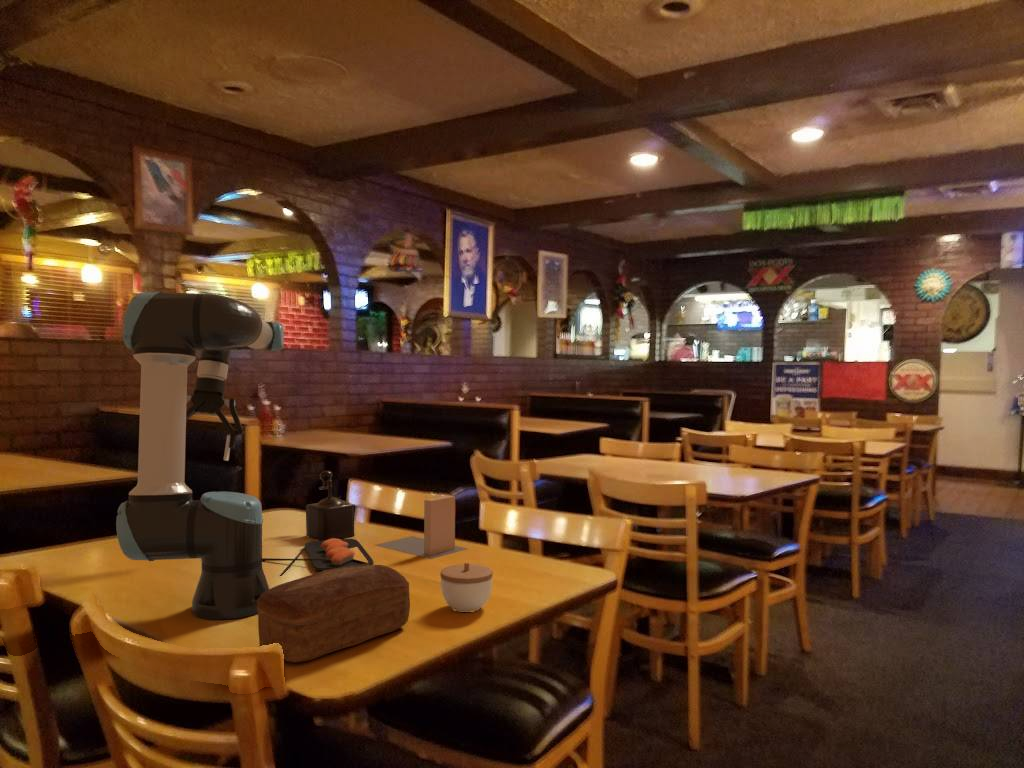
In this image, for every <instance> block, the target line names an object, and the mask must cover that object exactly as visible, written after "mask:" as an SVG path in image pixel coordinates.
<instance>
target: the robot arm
mask: <svg viewBox="0 0 1024 768" xmlns="http://www.w3.org/2000/svg"><path fill="white" fill-rule="evenodd" d="M122 334H123V336H122V337H123V343H124V345H125V347H126V348H127V349H129V350H131V351H133V352H132V353H133V354H132V355H133V359H134V360H135V361H137V362H138V363H139V365H140V394H139V397H140V398H139V425H138V426H139V431H138V432H139V434H138V459H137V460H138V464H137V466H138V467H137V482H136V483H137V484H136V486H134V487H133V488H132V489H131V490H130V491H129V492H128V500H126V501H124V502H121V503H120V505H119V507H118V509H117V515H116V518H115V519H116V521H115V525H116V526H115V527H116V535H117V542H118V545H119V547H120V549H121V551H122V553H123V555H124V556H125V558H127V559H130V560H132V561H149V562H153V561H161V560H162V561H163V560H164V561H165V560H192V559H200V561H201V570H200V571H201V573H200V576H199V580H198V582H197V585H196V588H195V590H194V591H195V592H194V594H193V597H192V601H191V613H192V614H193V615H194V616H196V617H198V618H201V619H207V620H231V619H240V618H245V617H250V616H254V615H258V611H257V603H258V598H259V597H260V595H262V594H263V593H264V592H265V591H267V590H269V589H270V587H269V584H268V581H267V578H266V575H265V572H264V569H263V561H262V558H263V523H264V518H263V510H262V502H261V501H260V500H259V499H258V498H257V497H256V496H253V495H250V494H247V493H241V492H236V491H235V492H234V491H208V492H205V493H203V494H201V497H200V499H197V500H194V499H193V490H192V489H191V488H190V487H189V486H188V485H187V484H186V483H185V478H186V477H185V476H186V475H185V474H186V471H185V470H186V469H185V468H186V437H187V435H186V434H187V431H186V430H187V428H186V427H187V421H188V420H189V419H191V417H192V416H193V415H196V413H199V414H208V415H213V414H216V415H217V417H218V418H219V420H220V422H221V423H223V425H224V427H225V429H226V430H227V431H228V433H229V434H230V435H229V434H227V435H226V441H225V448H224V455H223V461H226V462H229V460H230V453H231V452H230V451H231V449H234V448H235V446H236V439H237V437H239V436H242V435H244V434H245V431H244V428H243V425H242V423H241V419H240V417H239V415H238V412H237V409H236V404H237V403H236V400H235V399H234V398H229V399H225V391H226V386H227V385H226V381H225V380H227V378H228V371H229V364H230V358H231V351H261V352H262V351H264V352H265V351H266V352H267V351H268V352H272V351H281V350H282V349H283V348H284V341H285V331H284V325H283V324H282V323H281V322H279V321H277V322H276V321H265V320H263V319H262V317H261V316H260V314H259V313H258V311H257V310H256V309H255V308H254V307H252V306H250V305H249V304H248V303H245V302H243V301H240V300H238V299H235V298H232V297H228V296H225V295H220V294H215V293H189V292H188V293H187V292H171V291H170V292H168V291H156V292H139V293H138V294H135V295H133V297H132V298H131V299H130V301H129V302H128V305H127V306H126V309H125V313H124V316H123V324H122ZM197 350H198V351H199V350H200V352H199V353H200V354H199V359H198V366H197V372H196V376H197V378H195V383H194V389H193V393H192V395H188V393H187V392H188V367H189V366H190V365H191V364H192V363H193V362H194V361H196V356H197V354H196V353H197ZM189 402H191V403H192V406H190V407H189V408H188V409H187V404H188V403H189ZM225 405H226V407H227V408H229V411H230V414H231V417H232V420H233V422H234V426H235V428H236V430H235V428H233V426H232V424H231V422H230V421H229V420H228V418H227V417H226V416H225V414H224V413H223V411H222V410H221V408H222V407H223V406H225Z"/></svg>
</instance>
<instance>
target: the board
mask: <svg viewBox="0 0 1024 768" xmlns="http://www.w3.org/2000/svg"><path fill="white" fill-rule="evenodd" d="M375 546H376V547H381V548H385V549H389V550H393V551H398V552H401V553H405V554H409V555H413V556H418V557H422V558H426V559H430V560H433V559H436V558H440V557H443V556H446V555H447V556H448V555H451V554H455V553H458V552H459V553H460V552H461V551H462V552H463V551H465V550H468V549H469V548H468V547H463V546H459V545H455V549H451V550H448V551H444V552H440V553H436V554H432V555H428V554H424V537H423V538H422V537H419V536H413V535H411V536H407V537H402V538H398V539H394V540H389V541H385V542H381V543H377V544H375Z"/></svg>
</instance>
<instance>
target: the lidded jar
mask: <svg viewBox="0 0 1024 768" xmlns="http://www.w3.org/2000/svg"><path fill="white" fill-rule="evenodd" d="M463 563H464V564H463ZM463 563H462V564H453V565H449V566H447V567H444V568H442V569H441V570H440V586H441V593H442V597H443V599H444V601H445V602H446V604H447V605H448V606H449V607H451V608H450V609H451V610H452V609H454V610H456V611H460V612H471V611H476V610H478V609H480V608H481V609H482V607H483V606H484V605H485V604H486V603H487V602H488V600H489V598H490V597H491V591H492V587H493V585H492V583H493V576H494V575H493V570H492V568H490V567H489V566H484V565H480V564H472V563H469V562H463ZM481 609H480V610H481Z"/></svg>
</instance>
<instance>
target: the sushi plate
mask: <svg viewBox="0 0 1024 768" xmlns="http://www.w3.org/2000/svg"><path fill="white" fill-rule="evenodd" d="M353 548H357V549H358V550H359V551H360V553H361V554H362V555H363V557H364V558H365V560H367V562H365V561H362V560H358V559H355V555H356V552H355V551H353V550H351V549H353ZM349 549H350V550H349ZM303 551H306V554H307V556H308V557H309V558H299V556H300V555H301V554H302V553H303ZM295 556H296V557H294V558H274V557H273V558H270V557H269V558H265V557H264V558H263V557H262V562H263V561H264V562H265V561H266V562H267V561H268V562H276V561H277V562H279V561H281V562H282V561H291V562H290V563H289V564H288V565H287V567H286V568H285V569H284V570H283V571H282V572H281V573H280V574H279V576H282V575H283V574H284V573H285V572H286V571H287V570H288V569H289V570H290V568H291V567H292V566H293V564H294V563H295V562H296V561H310V562H311V565H312V567H313V568H314V569H315V570H318V571H324V570H328V569H334V568H341V567H347V566H354V565H363V564H369V565H374V559H373V558H372V557H371V556H370V554H369V553H368V552H367V551H366V549H365V548H364V546H363V545H362V544H361V543H360V542H359V541H358V540H357V539H355V538H343V539H336V538H332V539H328V540H322V541H320V540H314V541H308V542H305V543H304V546H303V548H302V549H301V550H300V552H298V554H297V555H295ZM289 570H288V571H289ZM288 571H287V572H288ZM287 572H286V573H287ZM286 573H285V574H286ZM285 574H284V575H285ZM284 575H283V576H284Z"/></svg>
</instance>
